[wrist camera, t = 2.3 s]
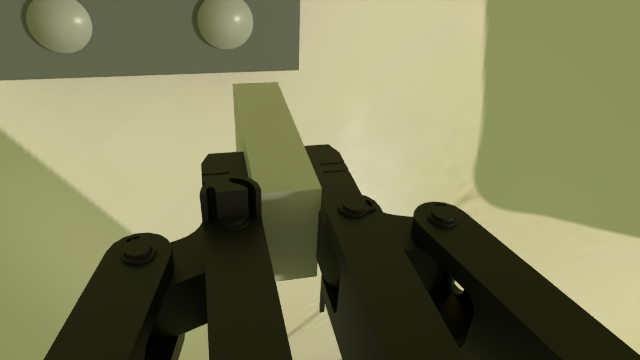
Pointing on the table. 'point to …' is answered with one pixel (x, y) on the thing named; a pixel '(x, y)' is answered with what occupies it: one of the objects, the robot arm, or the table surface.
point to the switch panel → (146, 37)
